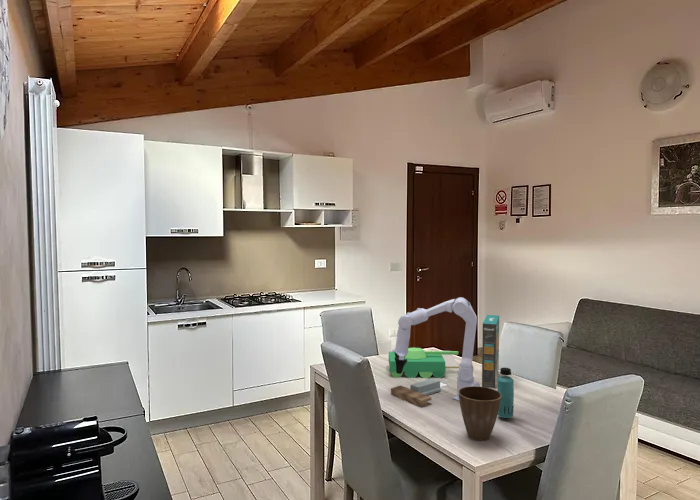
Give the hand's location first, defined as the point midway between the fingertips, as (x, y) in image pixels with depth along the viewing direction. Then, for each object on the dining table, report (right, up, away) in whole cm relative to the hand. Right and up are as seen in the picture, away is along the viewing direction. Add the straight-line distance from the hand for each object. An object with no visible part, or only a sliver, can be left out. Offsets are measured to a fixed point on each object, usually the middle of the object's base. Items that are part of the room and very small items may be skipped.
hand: (398, 370), depth 222 cm
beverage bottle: (+39, -12, -28) cm, 50 cm away
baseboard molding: (+30, -8, +53) cm, 62 cm away
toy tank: (+16, -9, +31) cm, 36 cm away
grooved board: (+5, -11, -7) cm, 14 cm away
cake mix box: (+47, -9, +18) cm, 51 cm away
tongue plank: (+12, -11, +2) cm, 17 cm away
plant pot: (+25, -13, -44) cm, 52 cm away
